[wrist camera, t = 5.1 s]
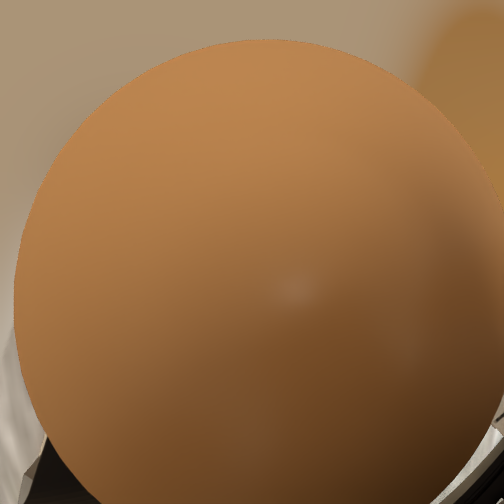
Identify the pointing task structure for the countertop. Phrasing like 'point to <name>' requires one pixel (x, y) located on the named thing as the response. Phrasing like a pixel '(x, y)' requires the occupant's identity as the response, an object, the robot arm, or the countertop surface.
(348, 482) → the orange rounded part
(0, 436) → the countertop surface
